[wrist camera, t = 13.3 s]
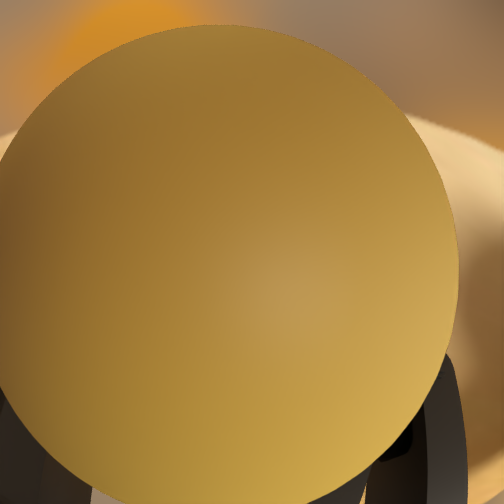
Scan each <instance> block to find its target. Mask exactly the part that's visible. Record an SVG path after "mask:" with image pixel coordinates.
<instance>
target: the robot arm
mask: <svg viewBox="0 0 504 504" xmlns="http://www.w3.org/2000/svg"><path fill="white" fill-rule="evenodd" d="M366 483H367V484H366ZM365 486H366V496H365V504H467V498H468V468H467V450H466V438H465V429H464V421H463V414H462V408H461V401H460V396H459V390H458V385H457V381H456V376H455V371H454V367H453V364H452V362H451V359H450V358H449V357H448V355H447V354H446V353H445V356H444V359H443V362H442V365H441V367H440V370H439V373H438V375H437V377H436V379H435V381H434V383H433V385H432V387H431V389H430V391H429V393H428V394H427V396H426V398H425V400H424V402H423V403H422V405H421V407H420V409H419V410H418V412H417V413H416V415H415V416H414V417H413V419H412V420H411V421H410V423H409V424H408V425H407V427H406V428H405V429H404V431H403V432H402V433H401V434H400V436H399V437H398V438H397V439H396V440H395V442H394V443H393V444H392V445H391V446H390V447H389V448H388V449H387V450H386V451H385V452H384V453H383V454H382V455H380V456H379V457H378V458H377V459H376V460H375V461H374V462H373V463H372V464H371V465H370V466H368V467H367V468H366V469H365V470H364V471H362V472H361V473H359V474H358V475H357V476H355V477H354V478H352V479H351V480H349V481H348V482H346V483H345V484H343V485H342V486H340V487H339V488H337V489H335V490H334V491H332V492H330V493H328V494H326V495H324V496H322V497H320V498H318V499H316V500H313V501H311V502H309V503H307V504H359V503H360V501H361V498H362V495H363V492H364V489H365ZM91 493H92V486H90V485H89V484H87V483H86V482H84V481H82V480H81V479H79V478H78V477H77V476H75V475H74V474H73V473H71V472H70V471H69V470H68V469H66V468H65V467H64V466H63V465H61V464H60V463H59V462H58V461H57V460H56V459H54V458H53V457H52V456H51V455H50V454H49V453H48V452H47V451H46V450H45V449H44V448H43V447H42V446H41V444H40V443H39V442H38V441H37V440H36V439H35V438H34V437H33V436H32V434H31V433H30V432H29V431H28V429H27V428H26V427H25V425H24V424H23V423H22V421H21V420H20V419H19V417H18V416H17V414H16V413H15V411H14V410H13V408H12V406H11V405H10V403H9V401H8V400H7V398H6V396H5V395H4V393H3V391H2V389H1V387H0V504H90V502H91Z"/></svg>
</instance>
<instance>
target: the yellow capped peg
mask: <svg viewBox="0 0 504 504" xmlns="http://www.w3.org/2000/svg"><path fill="white" fill-rule="evenodd" d="M458 284H459V255H458V246H457V239H456V232H455V225H454V220H453V215H452V211H451V208H450V204H449V201H448V197H447V194H446V191H445V188H444V185H443V182H442V179H441V177H440V175H439V172H438V170H437V168H436V166H435V164H434V162H433V160H432V158H431V156H430V154H429V152H428V150H427V148H426V146H425V144H424V143H423V141H422V140H421V138H420V136H419V135H418V134H417V132H416V131H415V129H414V128H413V126H412V125H411V123H410V122H409V121H408V119H407V118H406V116H405V115H404V114H403V113H402V112H401V110H400V109H399V108H398V107H397V106H396V105H395V104H394V103H393V102H392V101H391V99H390V98H389V97H387V95H386V94H385V93H384V92H383V91H382V90H381V89H380V88H379V87H378V86H376V85H375V84H374V83H373V82H371V81H370V80H369V79H368V78H367V77H365V76H364V75H363V74H362V73H360V72H359V71H358V70H356V69H355V68H354V67H352V66H351V65H349V64H348V63H346V62H344V61H343V60H341V59H339V58H338V57H336V56H334V55H333V54H331V53H329V52H327V51H325V50H324V49H321V48H319V47H317V46H314V45H312V44H310V43H307V42H305V41H303V40H300V39H297V38H295V37H292V36H288V35H285V34H281V33H277V32H274V31H270V30H265V29H259V28H252V27H245V26H237V25H201V26H191V27H183V28H176V29H171V30H167V31H163V32H159V33H155V34H151V35H148V36H145V37H142V38H139V39H136V40H134V41H131V42H128V43H126V44H123V45H121V46H119V47H117V48H115V49H113V50H111V51H109V52H107V53H105V54H103V55H101V56H100V57H98V58H96V59H94V60H93V61H91V62H90V63H88V64H87V65H85V66H84V67H82V68H81V69H79V70H78V71H76V72H75V73H74V74H72V75H71V76H70V77H69V78H67V79H66V80H65V81H64V82H62V84H60V85H59V86H58V87H57V88H56V89H54V90H53V91H52V92H51V93H50V94H49V95H48V97H46V98H45V99H44V100H43V101H42V102H41V104H40V105H39V106H38V107H37V108H36V109H35V110H34V111H33V113H32V114H31V115H30V116H29V118H28V119H27V120H26V121H25V123H24V124H23V125H22V127H21V128H20V129H19V131H18V132H17V134H16V135H15V137H14V139H13V140H12V142H11V143H10V145H9V147H8V148H7V150H6V152H5V154H4V156H3V158H2V160H1V162H0V387H1V389H2V391H3V393H4V395H5V396H6V398H7V400H8V401H9V403H10V405H11V406H12V408H13V410H14V411H15V413H16V414H17V416H18V417H19V419H20V420H21V421H22V423H23V424H24V425H25V427H26V428H27V429H28V431H29V432H30V433H31V434H32V436H33V437H34V438H35V439H36V440H37V441H38V442H39V443H40V444H41V446H42V447H43V448H44V449H45V450H46V451H47V452H48V453H49V454H50V455H51V456H52V457H53V458H54V459H56V460H57V461H58V462H59V463H60V464H61V465H63V466H64V467H65V468H66V469H68V470H69V471H70V472H71V473H73V474H74V475H75V476H77V477H78V478H79V479H81V480H82V481H84V482H86V483H87V484H89V485H90V486H92V487H94V488H95V489H97V490H99V491H100V492H102V493H104V494H106V495H108V496H110V497H112V498H114V499H116V500H119V501H121V502H123V503H125V504H307V503H309V502H311V501H313V500H316V499H318V498H320V497H322V496H324V495H326V494H328V493H330V492H332V491H334V490H335V489H337V488H339V487H340V486H342V485H343V484H345V483H346V482H348V481H349V480H351V479H352V478H354V477H355V476H357V475H358V474H359V473H361V472H362V471H364V470H365V469H366V468H367V467H368V466H370V465H371V464H372V463H373V462H374V461H375V460H376V459H377V458H378V457H379V456H380V455H382V454H383V453H384V452H385V451H386V450H387V449H388V448H389V447H390V446H391V445H392V444H393V443H394V442H395V440H396V439H397V438H398V437H399V436H400V434H401V433H402V432H403V431H404V429H405V428H406V427H407V425H408V424H409V423H410V421H411V420H412V419H413V417H414V416H415V415H416V413H417V412H418V410H419V409H420V407H421V405H422V403H423V402H424V400H425V398H426V396H427V394H428V393H429V391H430V389H431V387H432V385H433V383H434V381H435V379H436V377H437V375H438V373H439V370H440V367H441V365H442V362H443V359H444V356H445V353H446V350H447V347H448V344H449V341H450V338H451V334H452V329H453V324H454V318H455V313H456V307H457V300H458Z"/></svg>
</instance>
